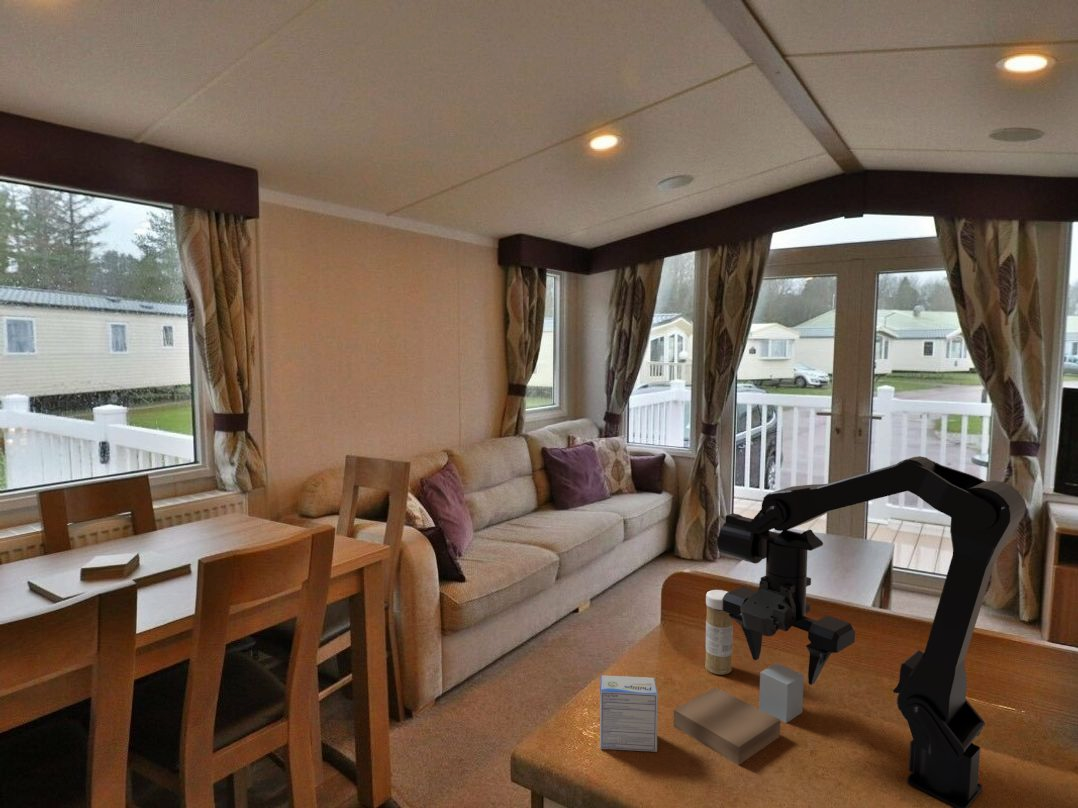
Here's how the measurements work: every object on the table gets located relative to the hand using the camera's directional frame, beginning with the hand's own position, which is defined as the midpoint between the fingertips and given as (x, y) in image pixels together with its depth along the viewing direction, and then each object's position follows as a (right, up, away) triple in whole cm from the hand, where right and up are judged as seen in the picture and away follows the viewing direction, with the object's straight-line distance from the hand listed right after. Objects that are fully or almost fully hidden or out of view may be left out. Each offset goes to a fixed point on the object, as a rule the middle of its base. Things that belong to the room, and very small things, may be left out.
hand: (782, 671), depth 95 cm
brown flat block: (-10, -7, -4) cm, 13 cm away
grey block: (0, -6, +1) cm, 6 cm away
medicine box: (-25, -7, -7) cm, 27 cm away
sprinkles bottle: (-6, -5, +13) cm, 15 cm away
